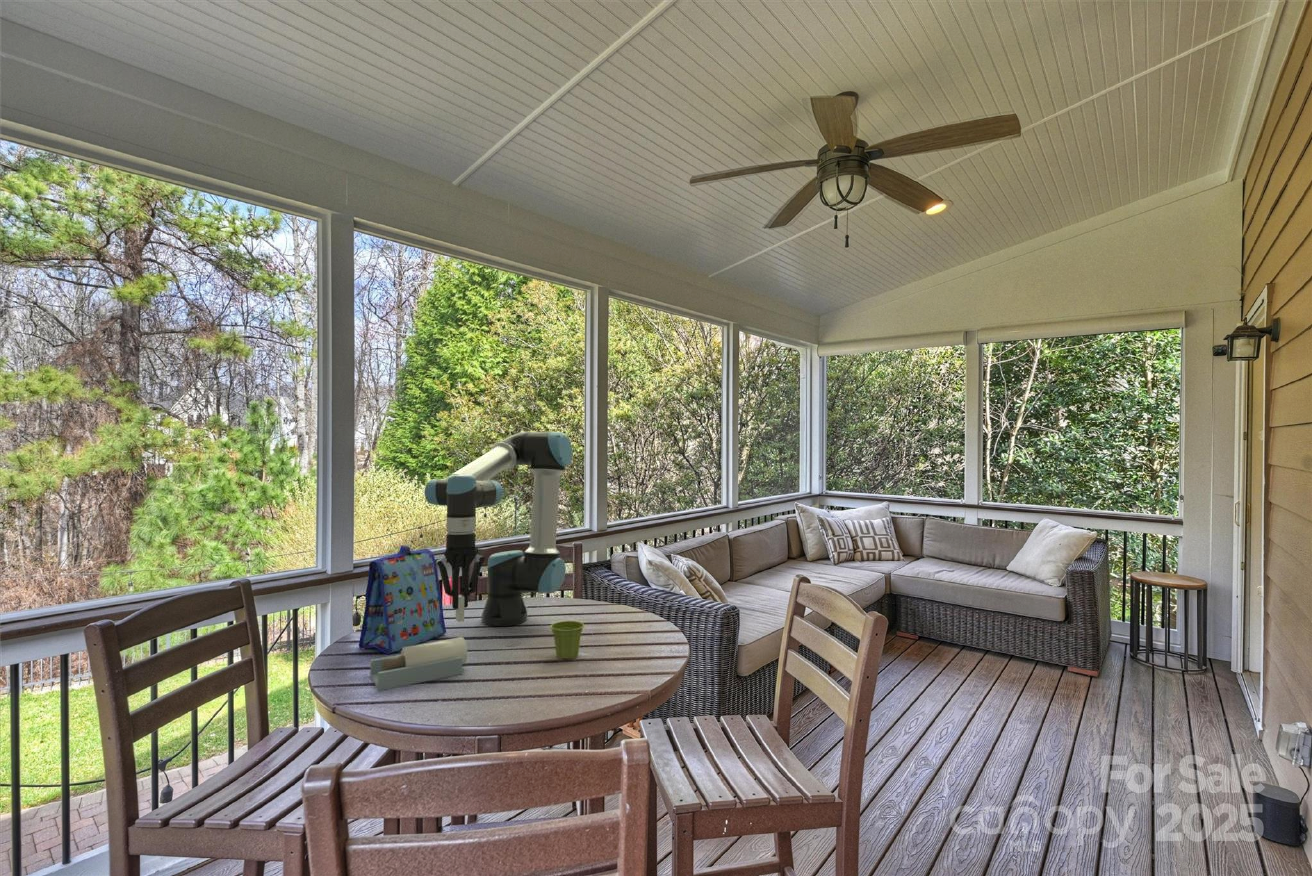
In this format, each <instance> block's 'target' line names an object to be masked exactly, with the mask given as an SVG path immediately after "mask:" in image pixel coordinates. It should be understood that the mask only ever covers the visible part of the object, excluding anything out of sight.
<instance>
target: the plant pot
mask: <svg viewBox="0 0 1312 876" xmlns="http://www.w3.org/2000/svg"><path fill="white" fill-rule="evenodd" d="M584 627H585V624H584V623H583V622H580V621H577V620H563V621H557V622H554V623H552V624H551V625H550V629H551V632H552V634H553V640H554V648H555V654H556V655H555V656H556V657H557V658H558V659H561V660H562V659H563V660H564V659H567V660H571V659H574V658H575V659H576V658H577V657H578V656H579V650H580V644H581V642H580V641H581V638H582V637H581V636H582V632H583V628H584Z"/></svg>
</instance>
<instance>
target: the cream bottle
mask: <svg viewBox="0 0 1312 876" xmlns="http://www.w3.org/2000/svg"><path fill="white" fill-rule="evenodd" d="M400 655H401V656H399V657H393V658H388V659H382V671H387V670H392V669H398V668H403V667H408V666H414V665H419V664H425V663H430V662H435V661H441V660H446V659H452V658H457V657H461V658H462V665H465V664H466V663H467V659H468V658H467V657H468V648H467V642H466V640H465V638H464V637H462V636H461V637H459V636H458V637H455V638H449V639H448V638H447V639H442V640H436V641H432V642H427V643H418V644H416V645H413V646H408V647H403V648H402V650H400Z"/></svg>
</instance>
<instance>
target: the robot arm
mask: <svg viewBox="0 0 1312 876" xmlns="http://www.w3.org/2000/svg"><path fill="white" fill-rule="evenodd" d="M572 459H573V446H572V443H571V440H570V438H569V437H568V435H567V434H566V433H564V432H561V431H521V432H518V433H515V434H513V435H511V436H508V437H507V438H503V439H502V440H500V441H499V442H496V443H495V444H494V445H493V446H492V447H491V450H490V451H488V452H486V453H485V454H483V455H482V456H480V457H478V458H477V459H475V460H473V461H472V462H470V463H468V464H466V465H465V466H463V467H462V468H460V469H458V470H457V471H455V472H453V473H451V474H450V475H448V476H446V477H445V478H443V479H442V478H436V479H431V480H429V481H427V483H426V485H425V487H424V491H423V492H424V494H423V495H424V498H425V500H426V502H427V503H428V504H431V505H435V506H439V507H441V506H446V522H445V523H446V525H445V526H446V529H445V530H446V532H447V533H446V536H445V537H446V538H445V540H446V541H445V552H444V554H443V556H442V557H441V558H439V559H435V563H436V566H437V568H438V569H439V572H440V577H441V581H442V585H443V590H444V593H445V594H446V596H448V597H450V596H451V597H452V599H451V603H452V604H451V606H452V609H453V610H455V620H456V621H457V622H458V623H459V622H460V623H461V622H464V621H465V608H468V606H469V596H470V595H471V594H473V593H475V592H476V589H477V585H478V580H479V578H480V577H479V576H480V573H481V568H482V565H483V563H484V562H485V560H486V557H485V556H483V555H480V554H478V551H477V549H476V533H475V531H476V522H477V521H476V520H477V518H476V517H477V515H476V509H481V508H486V507H487V508H488V507H489V508H490V507H493V506H497V505H498V504H499V503H501V502H502V500H503V498H504V488H503V487H502V485H501V484H500V482H498V481H496V480H495V479H494V480H491V479H492V478H493V477H494V476H496V475H498V474H500V473H501V472H502V471H503V470H509V469H510V470H511V468H513V467H516V466H530V472H531V473H532V475H534V480H533V492H532V493H533V494H532V508H531V520H530V522H531V523H530V534H529V535H530V537H529V546H528V547H527V549H526V550H525V551H523V550H519V549H518V550H517V549H515V550H508V551H500V552H495V553H493V554H491V555H490V556H488V560H487V567H486V569H487V589H486V590H487V593H486V595H487V596H486V601H485V604H484V607H483V610H482V614H481V622H482V624H484V623H485V625H487V624H489V625H488V626H496V627H501V626H503V627H507V626H514V625H518V624H521V623H524V622H526V621H527V620H528V611H527V606H526V604H525V601H524V597H523V592H527V593H528V592H529V593H539V594H541V595H542V594H554V593H555V592H557V591H558V590H559V589H560V588H561V586H562V584H563V582H564V580H565V577H566V572H567V571H566V569H567V566H566V562H565V560H564V559H563V558H561V557H560V556H561V555H560V554H561V553H560V550H558V549H557V546H556V545H557V543H556V542H557V531H558V530H557V528H558V512H559V498H560V497H559V495H560V482H561V481H560V479H561V476H562V475H563V474H564V473H565V471H566V467H568V466H569V465H571V463H572ZM473 561H474V563H473ZM447 562H448V564H449V565H450V566H451V583H450V577H449V574H448V569H447V567H446V566H447ZM472 563H473V568H472V572H471V576H470V566H471V564H472ZM460 570H461V594H460ZM469 578H470V579H469Z"/></svg>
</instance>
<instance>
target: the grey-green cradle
mask: <svg viewBox="0 0 1312 876" xmlns="http://www.w3.org/2000/svg"><path fill="white" fill-rule="evenodd" d="M399 656H401V654H397V655H391V656H386V657H379V658H374V659H370V667H369V668H370V670H369V671H370V676H369V677H370V679H371V680H372V682H373V681H374V682H373V684H374V683H375V684H374V685H375V687H376V689H377V690H378V691H379V692H381V691H384V690H389V689H394V688H399V687H403V686H404V687H405V686H409V685H414V684H418V683H424V682H428V681H429V682H430V681H433V680H439V679H443V678H444V679H445V678H449V677H453V676H458V675H462V674H463V664H462V658H461V657H457V658H452V659H446V660H441V661H435V662H430V663H425V664H419V665H414V666H408V667H403V668H398V669H392V670H387V671H382V659H388V658H393V657H399Z"/></svg>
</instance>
